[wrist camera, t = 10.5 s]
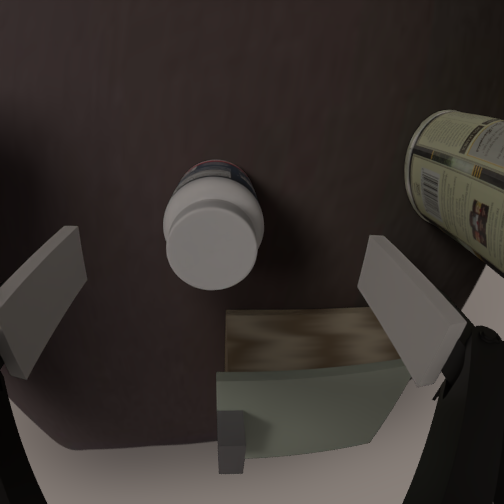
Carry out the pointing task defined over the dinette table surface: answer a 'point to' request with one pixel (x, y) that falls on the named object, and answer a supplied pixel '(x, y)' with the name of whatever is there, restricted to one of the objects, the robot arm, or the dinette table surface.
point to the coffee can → (460, 180)
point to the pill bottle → (213, 226)
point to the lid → (303, 410)
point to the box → (304, 339)
